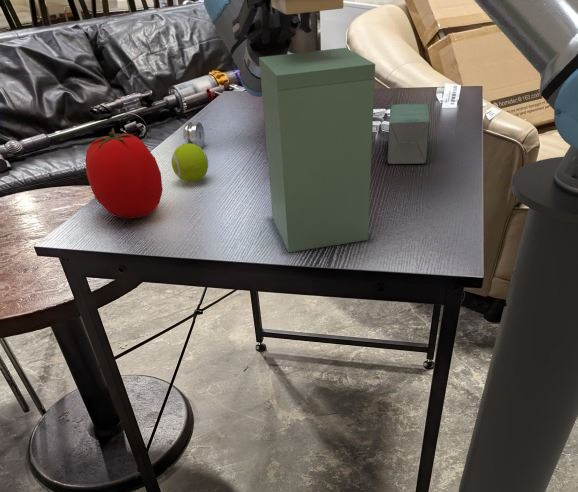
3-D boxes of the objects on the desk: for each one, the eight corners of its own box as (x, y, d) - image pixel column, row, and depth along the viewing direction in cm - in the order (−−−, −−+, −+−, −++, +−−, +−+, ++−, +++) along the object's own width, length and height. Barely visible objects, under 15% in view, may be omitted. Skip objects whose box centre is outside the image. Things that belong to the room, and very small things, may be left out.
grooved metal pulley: (197, 151, 113) (193, 126, 109) (185, 150, 113) (180, 126, 110) (206, 143, 116) (202, 119, 113) (193, 143, 117) (189, 119, 114)
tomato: (152, 232, 84) (130, 145, 75) (85, 227, 87) (57, 143, 78) (182, 202, 92) (166, 121, 83) (120, 199, 95) (98, 120, 86)
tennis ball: (171, 179, 101) (163, 143, 96) (204, 172, 103) (198, 136, 98) (181, 190, 96) (174, 152, 92) (216, 182, 98) (210, 145, 94)
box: (424, 141, 108) (428, 101, 104) (426, 164, 99) (430, 121, 94) (388, 141, 110) (390, 102, 105) (386, 165, 100) (389, 122, 95)
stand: (368, 240, 77) (375, 63, 62) (288, 252, 76) (276, 75, 61) (344, 208, 86) (345, 47, 71) (272, 219, 84) (258, 57, 70)
